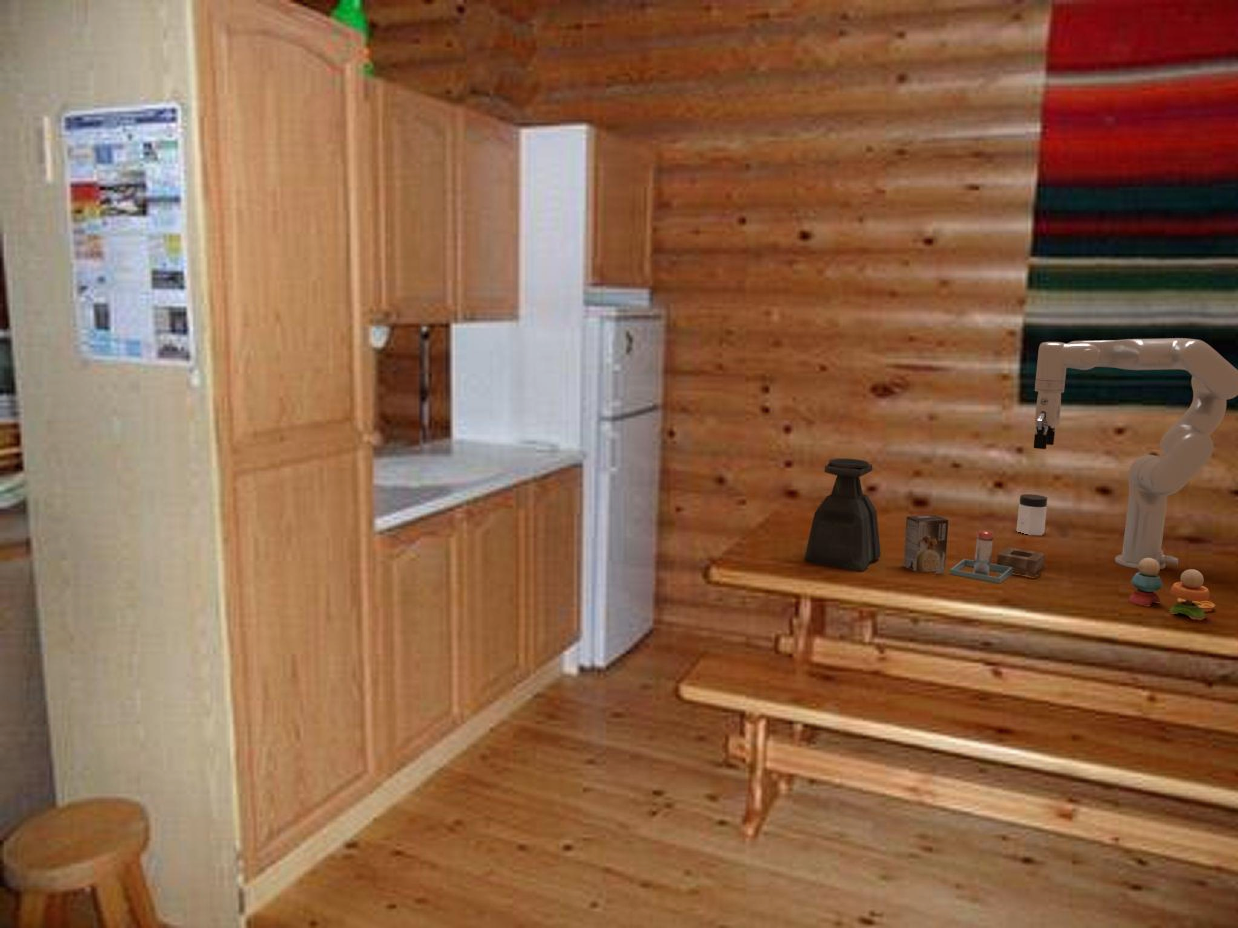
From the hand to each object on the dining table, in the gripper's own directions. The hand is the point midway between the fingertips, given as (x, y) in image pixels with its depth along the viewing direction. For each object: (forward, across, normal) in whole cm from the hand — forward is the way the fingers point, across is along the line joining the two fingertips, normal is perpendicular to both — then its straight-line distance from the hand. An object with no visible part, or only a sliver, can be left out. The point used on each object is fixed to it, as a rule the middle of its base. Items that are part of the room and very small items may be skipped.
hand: (1043, 446), depth 268 cm
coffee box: (+34, -36, +20) cm, 53 cm away
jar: (+34, +34, +8) cm, 48 cm away
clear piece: (+33, -28, +7) cm, 43 cm away
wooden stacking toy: (+34, -26, -38) cm, 57 cm away
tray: (+33, -28, +7) cm, 44 cm away
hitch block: (+33, -15, 0) cm, 37 cm away
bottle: (+34, -44, +40) cm, 68 cm away
